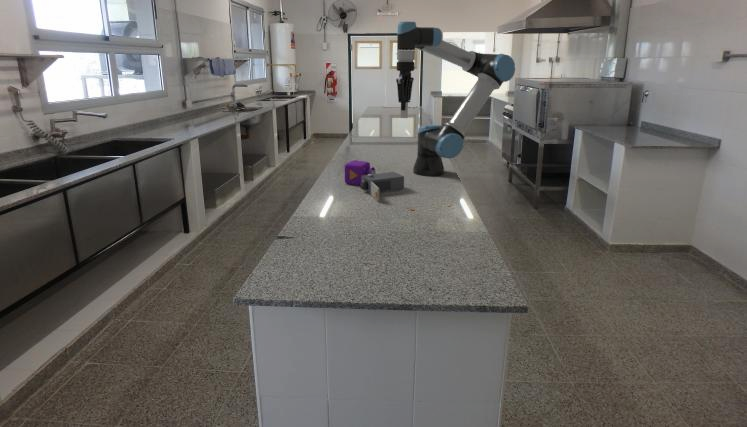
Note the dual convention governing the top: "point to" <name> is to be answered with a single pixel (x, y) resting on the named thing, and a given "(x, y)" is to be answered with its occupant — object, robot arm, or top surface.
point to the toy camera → (357, 171)
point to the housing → (383, 182)
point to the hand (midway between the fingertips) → (404, 117)
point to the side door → (374, 191)
